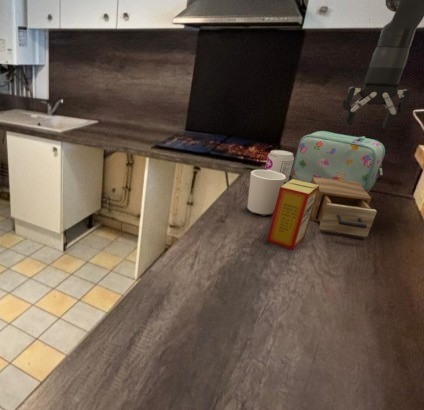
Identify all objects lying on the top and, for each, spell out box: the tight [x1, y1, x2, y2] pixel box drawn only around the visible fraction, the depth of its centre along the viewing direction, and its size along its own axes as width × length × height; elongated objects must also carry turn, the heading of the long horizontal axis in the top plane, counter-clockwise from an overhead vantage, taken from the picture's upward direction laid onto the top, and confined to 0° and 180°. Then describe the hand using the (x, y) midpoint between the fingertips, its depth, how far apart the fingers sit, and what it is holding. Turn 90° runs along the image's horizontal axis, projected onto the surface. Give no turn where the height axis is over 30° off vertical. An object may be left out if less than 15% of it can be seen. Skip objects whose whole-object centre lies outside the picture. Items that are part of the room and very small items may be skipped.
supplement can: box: [264, 149, 295, 184], centre depth 128 cm, size 8×8×15 cm
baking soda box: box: [266, 178, 320, 250], centre depth 95 cm, size 10×6×16 cm
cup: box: [247, 169, 286, 217], centre depth 112 cm, size 10×10×13 cm
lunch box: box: [291, 130, 386, 194], centre depth 130 cm, size 27×10×21 cm, turn 34°
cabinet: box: [310, 177, 372, 223], centre depth 112 cm, size 15×13×10 cm
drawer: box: [317, 194, 377, 238], centre depth 102 cm, size 18×11×8 cm, turn 158°
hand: (366, 126), depth 103 cm, fingers open, 8 cm apart
